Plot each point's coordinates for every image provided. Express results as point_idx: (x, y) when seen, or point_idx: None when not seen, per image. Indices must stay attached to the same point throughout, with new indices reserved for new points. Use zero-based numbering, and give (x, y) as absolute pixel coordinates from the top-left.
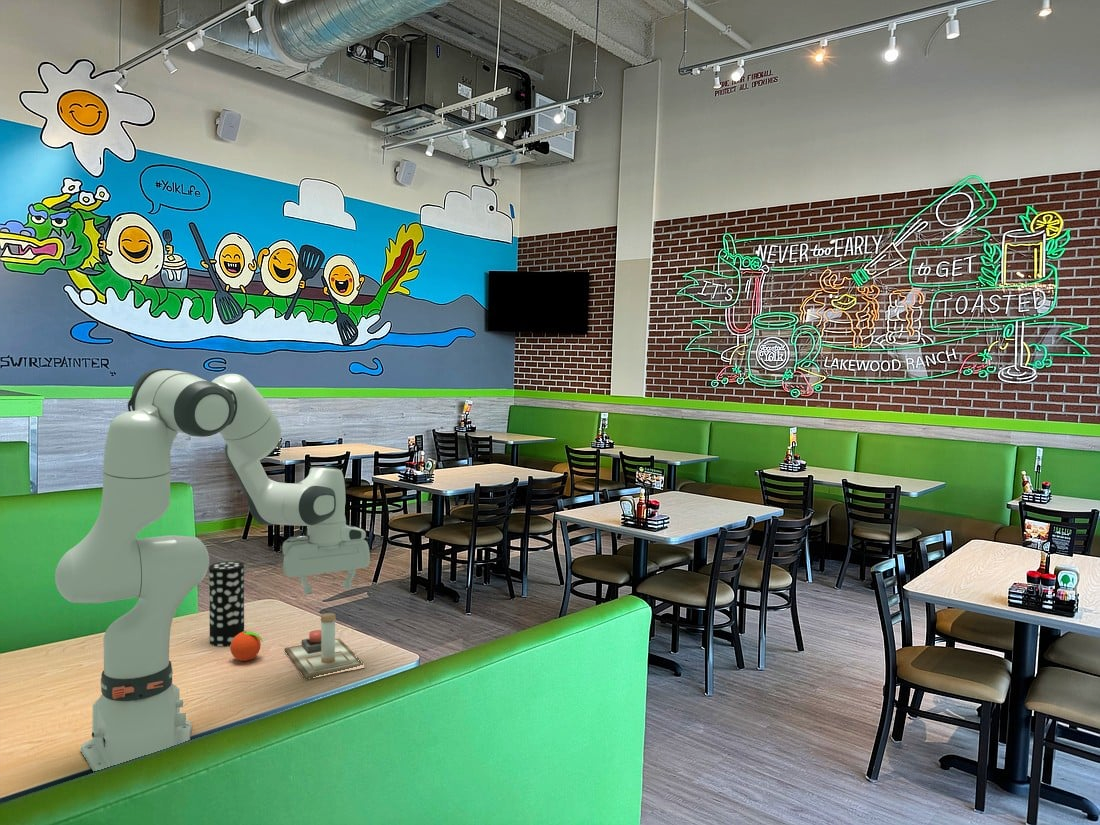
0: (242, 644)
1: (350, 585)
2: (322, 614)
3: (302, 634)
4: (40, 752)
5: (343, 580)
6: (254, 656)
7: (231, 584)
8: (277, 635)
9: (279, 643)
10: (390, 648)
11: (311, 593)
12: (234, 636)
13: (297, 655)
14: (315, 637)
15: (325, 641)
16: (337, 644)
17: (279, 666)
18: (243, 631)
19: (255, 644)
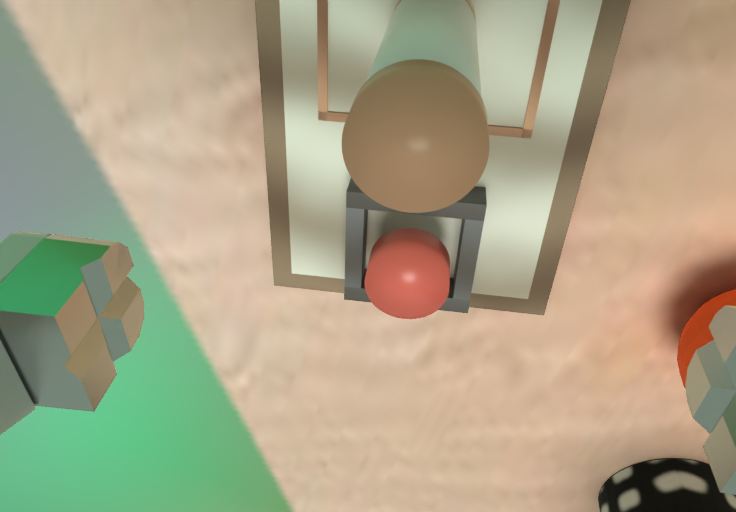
0: None
1: (4, 250)
2: (452, 200)
3: (392, 416)
4: None
5: (84, 408)
6: (724, 292)
7: None
8: (481, 452)
9: (512, 388)
10: (51, 61)
11: (717, 312)
12: (679, 490)
13: (542, 195)
14: (429, 249)
15: (463, 30)
16: (306, 219)
17: (659, 153)
18: (623, 508)
19: None
